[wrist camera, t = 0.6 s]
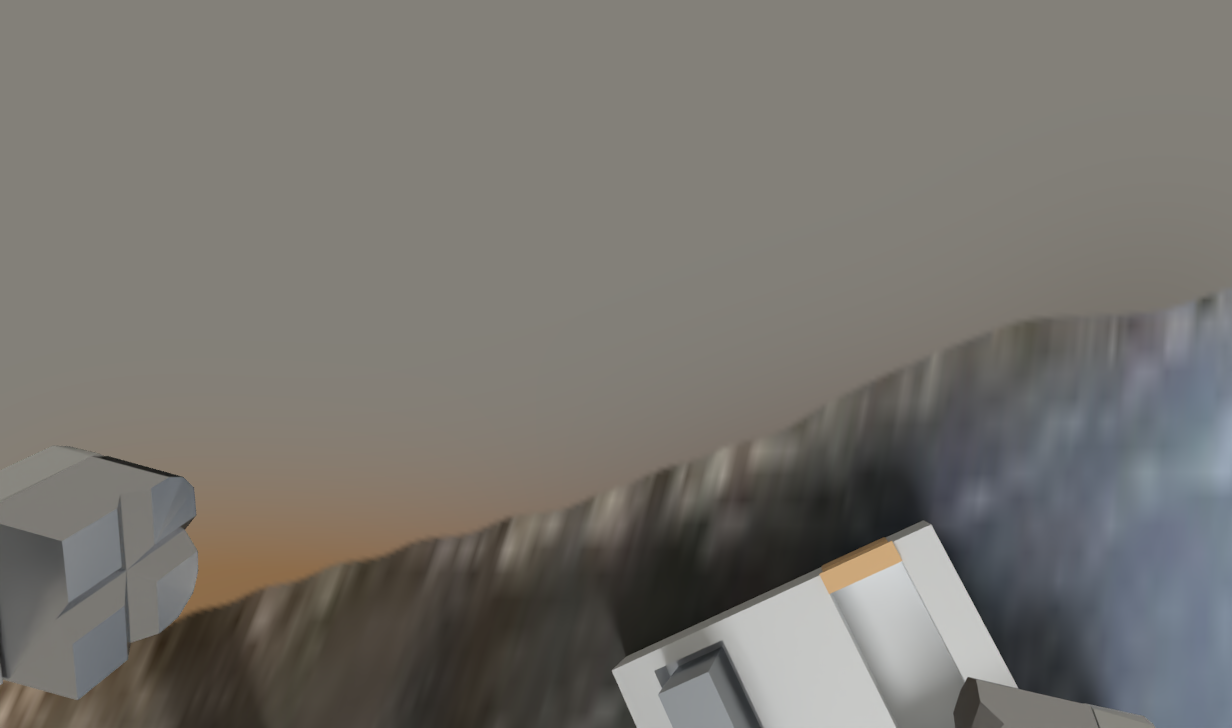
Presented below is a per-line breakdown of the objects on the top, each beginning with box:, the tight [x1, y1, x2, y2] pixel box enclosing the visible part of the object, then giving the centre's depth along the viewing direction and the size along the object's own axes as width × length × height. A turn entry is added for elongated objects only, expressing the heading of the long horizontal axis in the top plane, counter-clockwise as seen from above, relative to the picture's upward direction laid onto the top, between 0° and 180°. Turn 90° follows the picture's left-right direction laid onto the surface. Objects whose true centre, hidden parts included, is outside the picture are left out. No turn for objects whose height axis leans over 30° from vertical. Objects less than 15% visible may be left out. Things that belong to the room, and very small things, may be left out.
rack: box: [612, 520, 1018, 728], centre depth 50 cm, size 12×20×8 cm, turn 116°
